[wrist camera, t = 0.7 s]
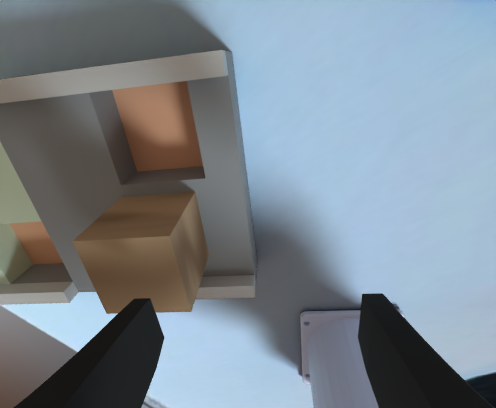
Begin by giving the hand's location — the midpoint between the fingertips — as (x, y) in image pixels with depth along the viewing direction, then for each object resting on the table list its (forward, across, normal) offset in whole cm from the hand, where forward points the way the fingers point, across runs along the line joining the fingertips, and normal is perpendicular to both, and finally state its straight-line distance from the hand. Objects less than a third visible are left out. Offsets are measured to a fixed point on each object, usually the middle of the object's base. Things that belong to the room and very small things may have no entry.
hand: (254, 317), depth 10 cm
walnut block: (+7, +6, +1) cm, 9 cm away
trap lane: (+10, +11, -1) cm, 15 cm away
